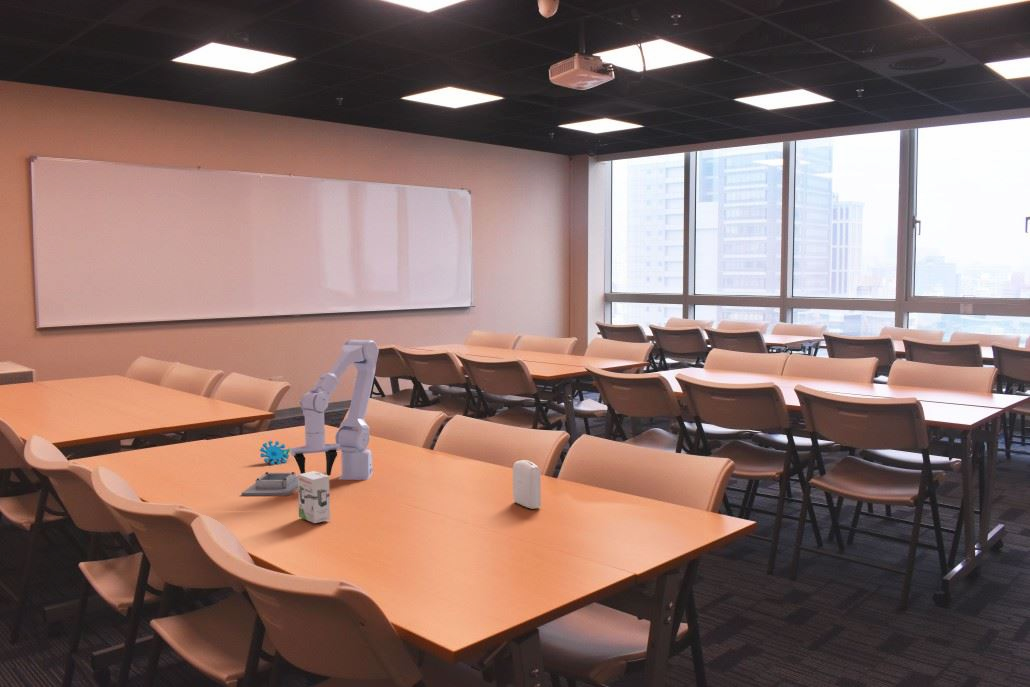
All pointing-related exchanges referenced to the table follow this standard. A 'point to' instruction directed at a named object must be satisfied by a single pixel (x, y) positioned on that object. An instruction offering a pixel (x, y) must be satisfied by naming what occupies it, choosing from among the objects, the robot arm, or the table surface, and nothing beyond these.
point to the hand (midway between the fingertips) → (316, 476)
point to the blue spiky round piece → (275, 453)
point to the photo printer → (526, 484)
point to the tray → (273, 485)
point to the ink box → (314, 496)
